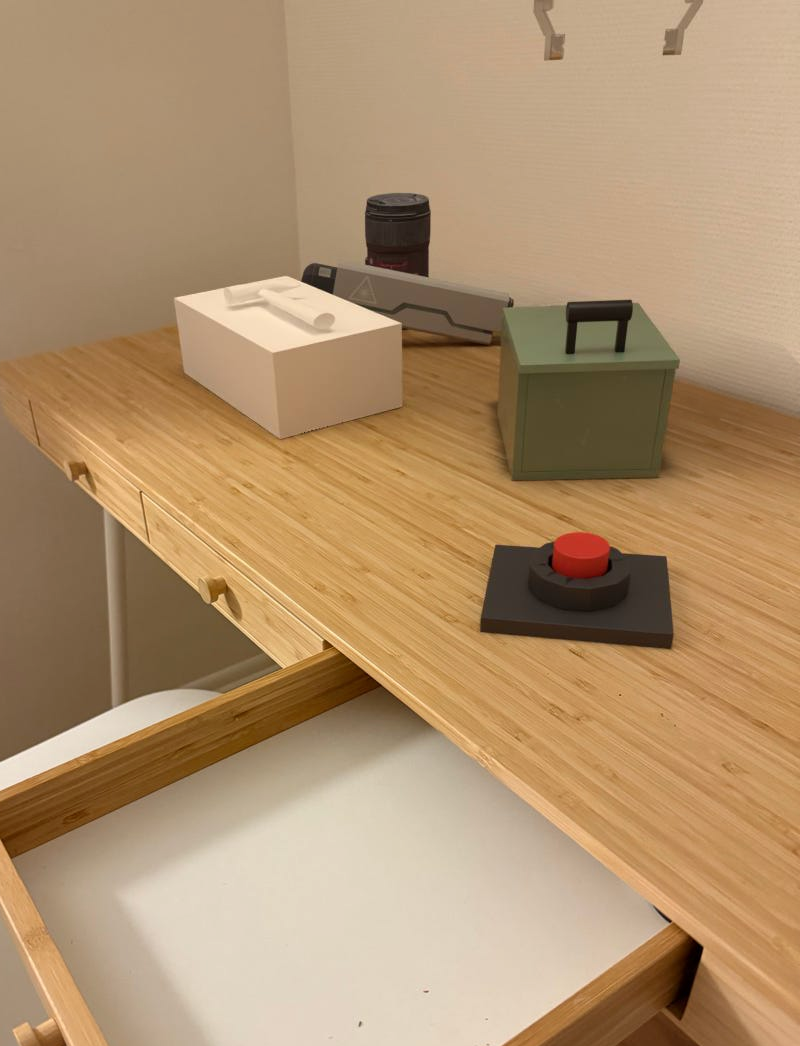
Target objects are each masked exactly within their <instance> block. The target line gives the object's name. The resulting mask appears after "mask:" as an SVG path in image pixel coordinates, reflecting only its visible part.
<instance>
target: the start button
mask: <svg viewBox="0 0 800 1046" xmlns="http://www.w3.org/2000/svg"><path fill="white" fill-rule="evenodd" d="M553 542H554V549H553V559H552V567H553V570H554V571H555V572H556V573H559V574H562V575H564V576H567V577H570V578H579V579H590V578H595V577H600V576H603V575H604V574H605V573H606V571H607V567H608V559H609V552H610V546H611V545H610V543H609V541H608V540H606V539H605V538H604V537H602V536H600V535H598V534H594V533H590V532H581V531H580V532H579V531H578V532H577V531H576V532H575V531H574V532H568V533H564V534H562V535H560V536H558V537H557V538H556V539H555V541H553Z"/></svg>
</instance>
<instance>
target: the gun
mask: <svg viewBox="0 0 800 1046" xmlns="http://www.w3.org/2000/svg"><path fill="white" fill-rule="evenodd" d="M300 282H303V283H305V284H308V285H310V286H312V287H315V288H317V289H320V290H322V291H325V292H327V293H329V294H332V295H334V296H337V297H339V298H342V299H344V300H346V301H349V302H351V303H354V304H356V305H358V306H361V307H363V308H366V309H368V310H371V311H373V312H375V313H378V314H380V315H383V316H385V317H388V318H390V319H392V320H395V321H397V322H400V323H402V328H405V329H406V330H411V331H415V332H421V333H426V334H430V335H435V336H440V337H446V338H451V339H456V340H459V341H466V342H471V343H475V344H479V345H486V346H490V345H491V344H492V342H493V338H494V332H496V333H501V331H502V317H503V316H502V312H503V308H509V307H514V305H515V300H514V298H512V297H511V296H509V293H507V292H502V291H497V290H493V289H488V288H483V287H478V286H472V285H468V284H463V283H458V282H452V281H447V280H444V279H443V280H442V279H439V278H434V277H430V276H429V277H424V276H419V275H414V274H409V273H404V272H399V271H394V270H389V269H384V268H379V267H374V266H369V265H365V263H360V262H359V263H358V262H353V261H349V260H343V259H339V260H338V263H337V266H332V265H328V264H322V263H317V262H313V263H310V264H308V265H306V267H305V268H304V270H303V272H302V276H301V279H300ZM405 329H404V330H405Z"/></svg>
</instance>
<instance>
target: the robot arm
mask: <svg viewBox="0 0 800 1046" xmlns="http://www.w3.org/2000/svg"><path fill="white" fill-rule="evenodd" d="M703 2H704V0H684V3H685V4H690V5H689V6H688V9H687V10H686V11H685V13H684V15H683V17H682V18H681V20H680V21H679V23H678V24H677V26H676V28H665V31H664V42H665V43H664V44H663V47H662V56H681V55H682V52H683V44H684V38H685V37H684V36H685V30H687V29H688V27H689V26H690V24H691V22H692V21H693V19H694V18H695V16H696V15H697V13H698V12H699V10H700V8H701V7H702V5H703ZM554 4H555V0H533V9H532V10H533V12H532V13H533V15H534V17H535V19H536V21H537V23H538V25H539V28H540V30H541V32H542V35H543V36H544V50H543V51H544V52H543V58H544V59H543V60H544V61H560V60H561V61H562V60H564V55H565V48H564V45H565V43H566V33H556V31H555V29H554V27H553V24H552V21H551V19H550V17H549V14H548V12H551V11H552V10H553V9H554Z"/></svg>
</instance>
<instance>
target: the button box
mask: <svg viewBox="0 0 800 1046" xmlns="http://www.w3.org/2000/svg"><path fill="white" fill-rule="evenodd" d="M554 542H555V541H550V542H546V543H544V544H543V545H542V546H540V547H535V546H523V545H511V544H509V545H508V544H495V545H494V549H493V555H492V559H491V564H490V570H489V574H488V578H487V579H488V580H487V585H486V590H485V594H484V598H483V599H484V600H483V605H482V608H481V614H480V622H479V625H480V626H479V632H480V633H485V634H495V635H496V634H497V635H509V636H519V637H530V638H539V639H554V640H563V641H574V642H587V643H596V644H597V643H598V644H607V645H608V644H609V645H618V646H619V645H620V646H629V647H630V646H631V647H639V648H641V647H642V648H653V649H665V650H672V647H673V642H674V641H673V640H674V636H675V633H674V622H673V611H672V601H671V600H672V599H671V590H670V589H671V588H670V579H669V578H670V577H669V569H668V568H669V567H668V556H666V555H654V554H642V553H641V554H639V553H625V552H621V551H620V550H619V549H618V548H617V547H614V546H611V545H610V552H609V559H608V567H607V571H606V573H605V574H604V575H603V576H600V577H595V578H590V579H579V578H570V577H567V576H564V575H562V574H559V573H556V572H555V571H554V570H553V567H552V559H553V549H554Z"/></svg>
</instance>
